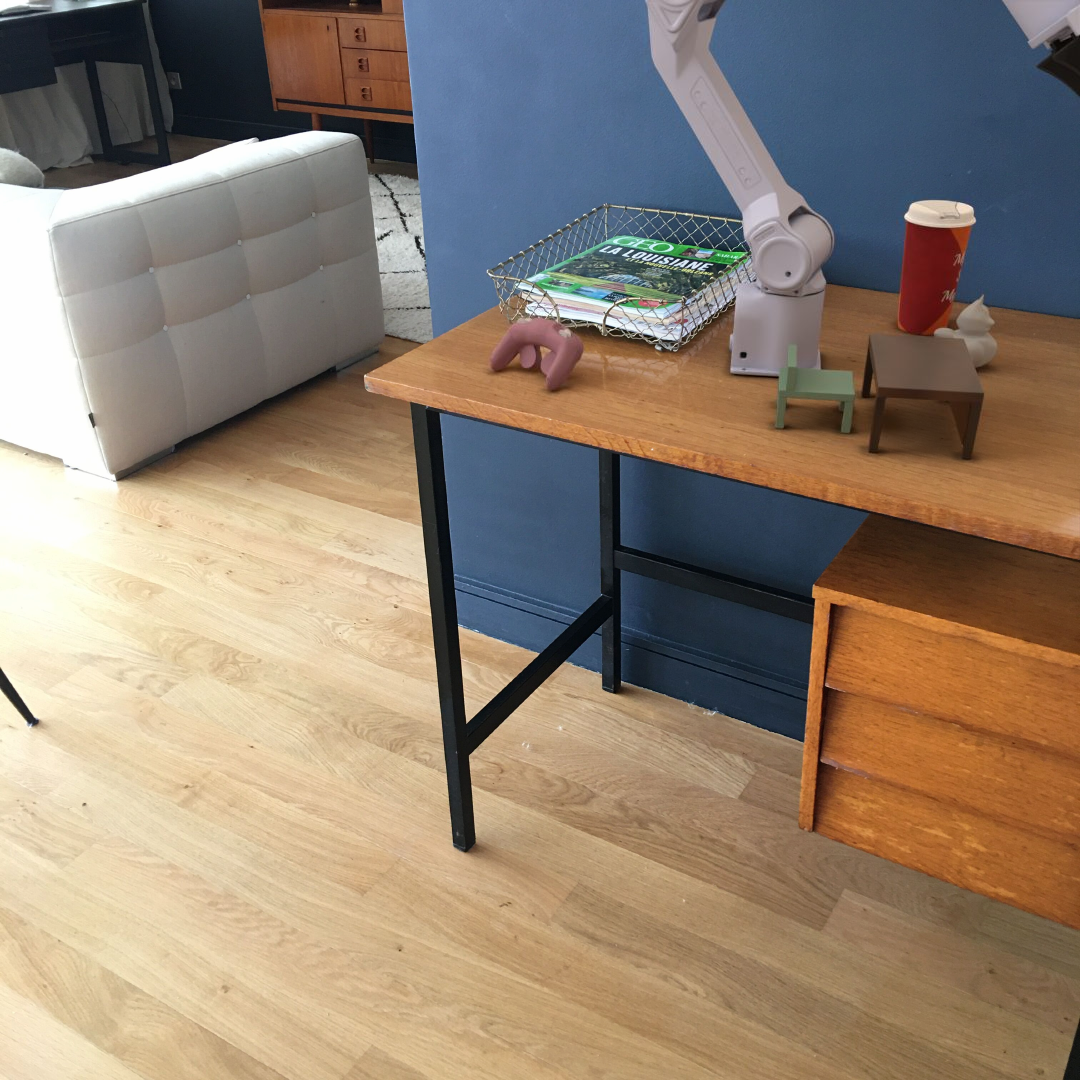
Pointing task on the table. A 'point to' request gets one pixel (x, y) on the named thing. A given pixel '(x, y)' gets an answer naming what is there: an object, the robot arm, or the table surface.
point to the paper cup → (932, 263)
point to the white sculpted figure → (974, 332)
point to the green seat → (814, 388)
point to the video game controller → (527, 343)
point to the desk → (924, 380)
